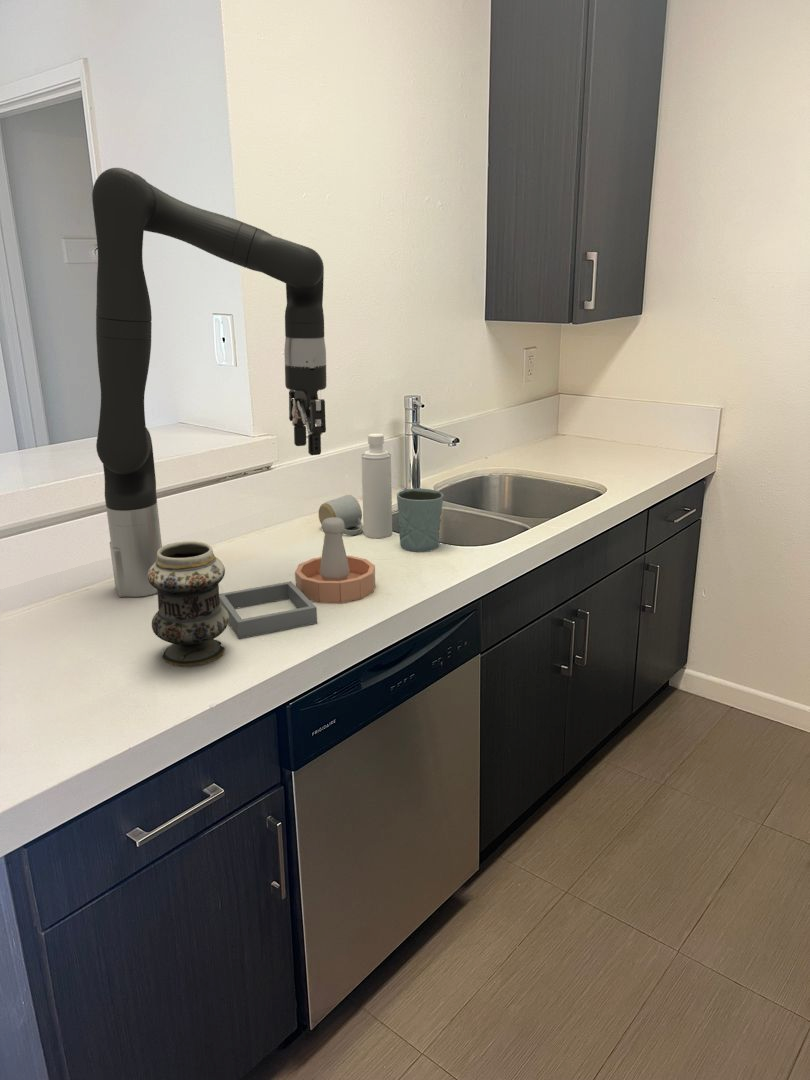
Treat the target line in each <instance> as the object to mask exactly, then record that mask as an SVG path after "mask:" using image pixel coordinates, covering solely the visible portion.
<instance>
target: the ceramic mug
mask: <svg viewBox="0 0 810 1080" xmlns="http://www.w3.org/2000/svg"><path fill="white" fill-rule="evenodd" d="M331 517H336V518H341V519H342V520H343V521H344V530H343V531H342V532H341V534H343V535H346V536H349V537H350V536H353V535H354V536H357V535H360V534H361V532H362V531H363V530H362V528H363V522H362V521H363V510H362V507H361V505H360V503H359V501H358V500H357V499H356V497H355V496H353V495H352V494H345V495H344V496H341V497H336V498H334V499H331V500H328V501H325V502H323V503H322V504H321V505H320V507H319V508H318V520H319V522H320V525H321V526H322V522H323V521H324V520H325V519H327V518H331ZM354 527H358V529H352V530H351V529H350V528H354Z"/></svg>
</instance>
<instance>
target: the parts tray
mask: <svg viewBox="0 0 810 1080" xmlns="http://www.w3.org/2000/svg"><path fill="white" fill-rule="evenodd" d="M219 598H220V605H221V606H222V607H224V608H225V609H226V611H227V612H228V615H229V623H228V625H229V624H230V625H229V626H230V628H231V627H232V628H231V629H232V630H234V631H233V632H234V633H235V635H236V636H237V638H238V639H239V638H240V639H244V638H249V637H255V636H260V635H264V634H269V633H273V632H279V631H283V630H290V629H293V628H294V629H295V628H299V627H300V628H301V627H304V626H310V625H315V624H318V611H317V610H318V609H317V606H316V605H315V604H314V603H313V601H311V600H309V599H308V598H307V597H306V596H305V595H304V594H303V593H302V592H301V591H300V590H299V589H298V588H297V587H296V584H294V583H293V581H291V580H290V581H286V582H279V583H278V582H277V583H274V584H269V585H268V584H266V585H262V586H261V585H260V586H258V587H257V586H255V587H250V588H244V589H241V590H239V589H238V590H234V591H229V592H223V593H219ZM283 600H289V601H290V602H291V603H292V604H293V605H294V607H296V608H294V609H289V610H283V611H279V612H273V613H268V614H263V615H262V614H261V615H257V616H251V617H246V618H242V617H241V616H240V614H239V613H238V611H237V610H236V609H239V608H238V607H241V608H246V607H250V606H251V605H252V606H257V605H261V604H267V603H272V602H278V601H283ZM234 608H235V609H234Z"/></svg>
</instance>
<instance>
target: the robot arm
mask: <svg viewBox="0 0 810 1080" xmlns="http://www.w3.org/2000/svg"><path fill="white" fill-rule="evenodd" d="M91 194H92V195H91V198H92V199H91V200H92V210H93V219H94V226H95V227H94V228H95V237H96V246H97V248H96V249H97V270H96V271H97V272H96V273H97V274H96V310H95V320H96V321H95V324H96V325H95V328H96V330H95V332H96V334H95V337H96V353H97V367H98V368H97V369H98V377H99V385H100V409H99V410H100V411H99V419H98V421H99V422H98V430H97V438H96V445H95V447H96V453H97V456H98V458H99V460H100V462H101V464H102V466H103V467H102V468H103V473H104V474H103V475H104V501H105V509H106V517H107V523H108V531H109V532H108V533H109V538H110V542H109V549H110V557H111V564H112V565H111V566H112V570H113V571H112V573H113V578H114V579H113V581H114V585H115V590H116V593H117V595H118V597H119V598H124V597H130V598H132V597H133V598H135V597H136V598H138V597H139V598H140V597H146V596H147V597H148V596H151V595H154V594H158V593H157V589H156V588H154V587H153V586H152V585H151V584H150V582H149V580H148V571H149V569H150V567H151V566H152V565H153V564H154V563H155V562H156V560H157V552H158V550H159V549H160V548H161V547H162V546H163V544H162V535H161V526H160V516H159V508H158V507H159V506H158V505H159V504H158V499H157V497H158V496H157V478H156V470H155V460H154V459H155V458H154V449H153V440H152V436H151V434H150V430H149V429H148V427H147V426H146V413H145V392H146V387H147V386H146V385H147V380H148V375H149V369H150V368H149V367H150V360H151V353H152V352H151V351H152V319H153V318H152V305H151V298H150V293H149V288H148V285H147V280H146V279H147V278H146V276H145V275H146V274H145V271H144V264H143V248H144V246H143V245H144V232H149V233H155V234H160V235H164V236H167V237H170V238H174V239H176V240H179V241H182V242H184V243H187V244H188V245H192V246H194V247H195V248H198V249H200V250H202V251H204V252H206V253H209V254H210V255H213V256H215V257H217V258H220V259H222V260H223V261H227V262H229V263H232V264H234V265H237V266H240V267H243V268H245V269H249V270H251V271H255V272H258V273H261V274H264V275H267V276H269V277H271V278H273V279H275V280H277V281H280V282H282V283H284V284H285V293H286V294H285V295H286V306H285V311H284V312H285V313H284V333H285V334H284V335H285V339H284V340H285V341H284V354H283V355H284V376H285V377H284V382H285V383H284V384H285V388H286V389H288V405H289V406H288V413H289V414H288V415H289V416H288V419H289V422H291V425H292V426H293V439H294V440H293V441H294V442H293V443H294V445H295V446H296V447H303V446H304V447H305V446H306V445H307V443H308V445H307V446H308V447H307V449H308V454H309V455H310V456H319V455H321V453H322V438H321V436H322V435H323V433H326V432H327V429H326V425H327V424H326V401H325V399H319V395H318V391H322V390H325V389H326V388H327V349H326V341H325V315H324V307H323V297H324V279H325V277H324V273H325V272H324V271H325V269H324V267H325V266H324V262H323V259H322V257H321V255H320V254H319V253H318V252H317V250H314V249H313V248H311V247H308V246H306V245H302V244H299V243H296V242H293V241H291V240H288V239H284V238H282V237H278V236H275V235H273V234H272V233H269V232H267V231H265V230H264V229H261V228H259V227H257V226H253V225H251V224H248V223H247V222H243V221H241V220H238V219H235V218H232V217H230V216H226V215H223V214H219V213H217V212H213V211H210V210H206V209H203V208H200V207H198V206H194V205H191V204H189V203H187V202H184V201H182V200H179V199H177V198H175V197H174V196H171V195H169V193H166V192H165V191H163V190H161V189H159V188H157V187H156V186H155V185H152V184H151V183H149V182H148V181H147V180H146V179H145V178H144V177H142V176H140V175H139V174H137V173H135V172H133V171H130V170H128V169H126V168H123V167H111V168H107V169H106V170H104V171H103V172H101V173H100V175H98V177H97V178H96V179H95V182H94V185H93V187H92V193H91Z"/></svg>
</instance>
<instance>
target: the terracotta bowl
mask: <svg viewBox="0 0 810 1080" xmlns="http://www.w3.org/2000/svg"><path fill="white" fill-rule="evenodd" d="M346 556H347V560H348V565H349V569H350V574H349V576H348V578H347V580H342V581H323V579H322V577H321V575H320V565H321V558H322V556H320V557H313V558H311V559H308V560H305V561H304V562H303V561H302V562H301V563H299V564H298V566H297V567H296V569H295V570H294V576H295V577H294V579H295V586H296V587H297V588H298V589H299V590H300V591H301V592H302V593H303V594H304V595H305V596H306V597H307V598H308V599H309V600H310V601H311V600H312V601H311V602H315V601H316V603H320V604H321V603H323V604H326V603H327V604H343V603H342V602H344V603H348V602H347V601H349V602H352V601H351V600H354V601H359V600H362V599H363V598H365V597H367V596H369V595H371V594H374V590H375V588H376V565H375V564H374V563H372V562H371V561H369V560H368V559H366V558H362V557H358V556H354V555H346ZM358 599H359V600H358ZM340 602H341V603H340Z"/></svg>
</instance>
